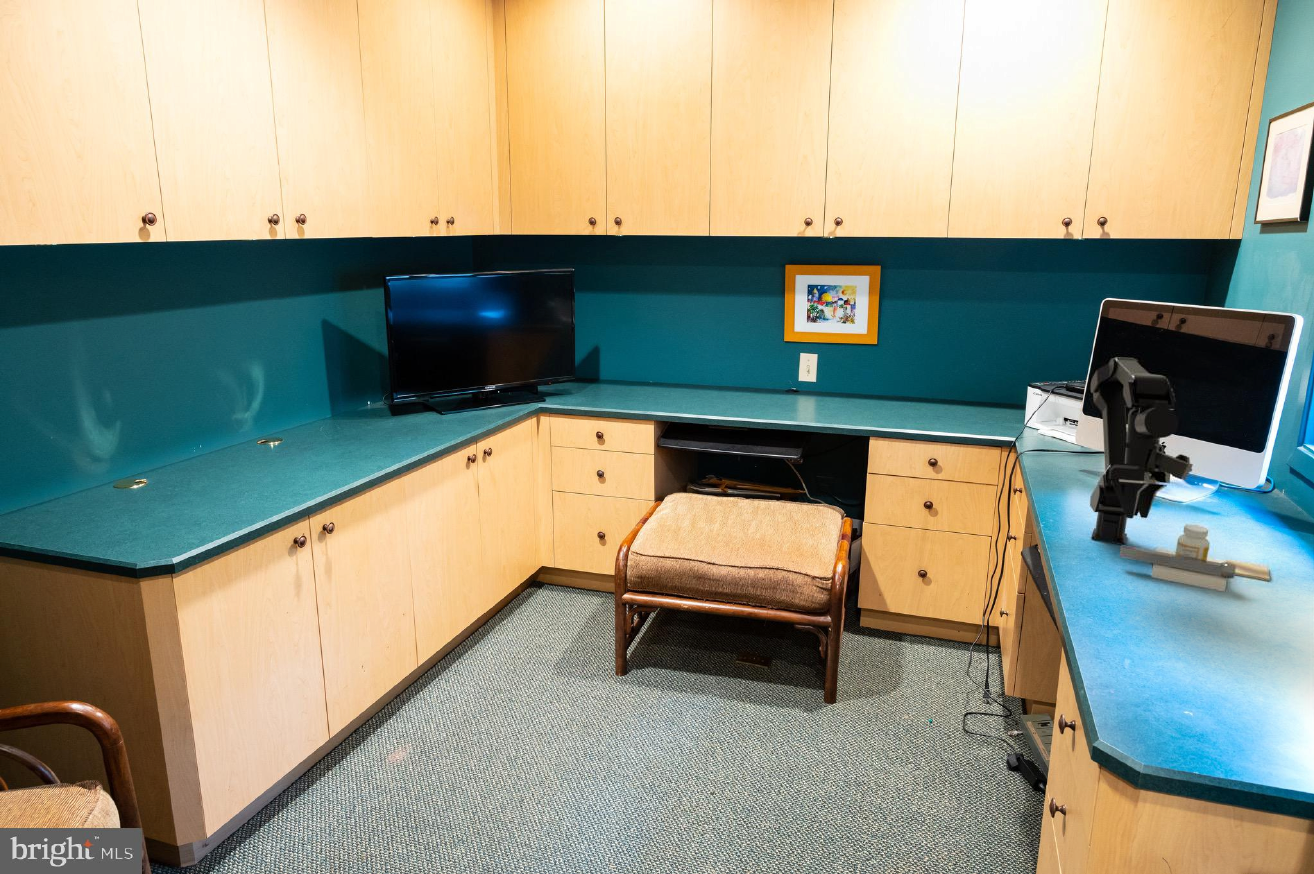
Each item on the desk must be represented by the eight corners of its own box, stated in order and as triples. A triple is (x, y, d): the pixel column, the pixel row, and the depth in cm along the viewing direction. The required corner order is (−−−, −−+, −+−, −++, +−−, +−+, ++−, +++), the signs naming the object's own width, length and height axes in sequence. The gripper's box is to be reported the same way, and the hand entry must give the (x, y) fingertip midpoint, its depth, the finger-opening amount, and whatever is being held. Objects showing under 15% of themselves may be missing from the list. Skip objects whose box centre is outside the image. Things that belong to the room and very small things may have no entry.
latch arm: (1233, 574, 164) (1235, 564, 164) (1234, 579, 162) (1236, 568, 162) (1120, 553, 174) (1121, 543, 173) (1119, 557, 172) (1120, 547, 171)
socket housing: (1154, 557, 178) (1156, 548, 178) (1223, 569, 172) (1225, 560, 172) (1151, 577, 168) (1153, 567, 168) (1224, 591, 162) (1226, 581, 162)
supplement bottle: (1181, 579, 168) (1190, 532, 165) (1166, 567, 173) (1174, 522, 170) (1209, 579, 168) (1218, 532, 165) (1193, 568, 173) (1201, 523, 170)
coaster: (1225, 561, 177) (1226, 559, 176) (1267, 568, 173) (1267, 566, 173) (1226, 573, 171) (1226, 570, 171) (1269, 581, 167) (1269, 578, 167)
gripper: (1176, 438, 158) (1170, 523, 158) (1202, 443, 171) (1196, 522, 171) (1110, 435, 166) (1104, 516, 166) (1140, 440, 179) (1134, 515, 179)
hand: (1137, 518), depth 170 cm, fingers open, 9 cm apart
